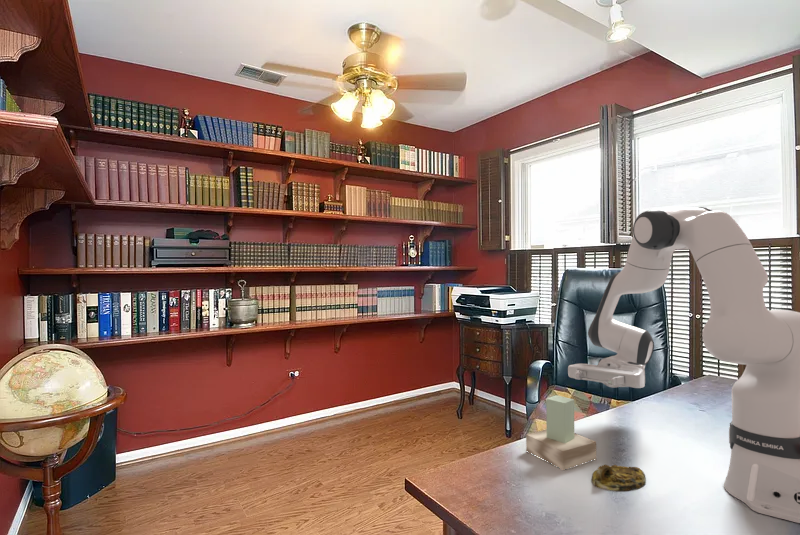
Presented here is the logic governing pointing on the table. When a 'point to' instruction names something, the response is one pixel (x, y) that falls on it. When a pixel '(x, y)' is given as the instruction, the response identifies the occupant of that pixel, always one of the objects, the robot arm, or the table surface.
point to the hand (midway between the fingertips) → (593, 379)
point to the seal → (618, 478)
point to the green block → (560, 418)
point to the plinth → (561, 449)
